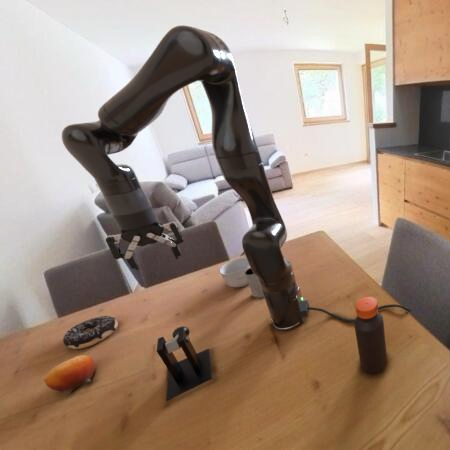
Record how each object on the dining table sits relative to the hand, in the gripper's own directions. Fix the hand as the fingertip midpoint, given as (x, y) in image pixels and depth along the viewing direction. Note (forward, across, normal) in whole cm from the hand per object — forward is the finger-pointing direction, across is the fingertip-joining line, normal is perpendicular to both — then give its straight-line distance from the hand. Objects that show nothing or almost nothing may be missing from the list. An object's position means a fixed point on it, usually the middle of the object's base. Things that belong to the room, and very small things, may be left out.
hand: (158, 262), depth 75 cm
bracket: (+23, 0, -21) cm, 31 cm away
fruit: (+24, -24, -5) cm, 34 cm away
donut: (+24, -24, +14) cm, 37 cm away
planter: (+23, +21, +2) cm, 31 cm away
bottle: (+23, +39, -46) cm, 65 cm away
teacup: (+24, +18, +15) cm, 33 cm away
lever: (+16, 0, -17) cm, 23 cm away
